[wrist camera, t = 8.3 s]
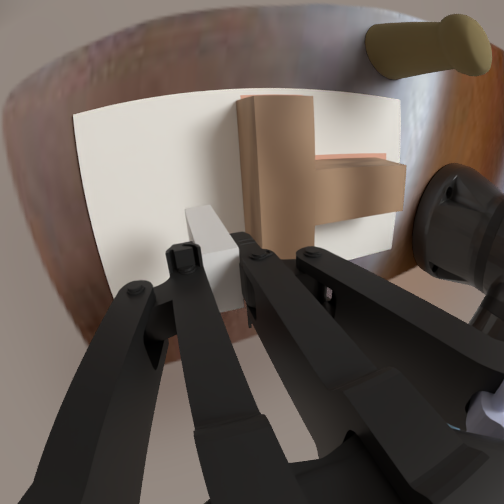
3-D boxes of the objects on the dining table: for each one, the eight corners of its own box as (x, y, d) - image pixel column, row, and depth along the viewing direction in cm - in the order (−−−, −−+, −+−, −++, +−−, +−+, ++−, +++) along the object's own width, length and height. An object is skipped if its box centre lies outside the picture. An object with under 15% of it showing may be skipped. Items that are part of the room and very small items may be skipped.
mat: (398, 99, 23) (400, 99, 23) (389, 248, 30) (391, 248, 30) (73, 115, 16) (72, 114, 16) (118, 309, 23) (118, 311, 23)
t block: (376, 105, 22) (407, 106, 19) (369, 245, 28) (395, 261, 25) (235, 100, 19) (253, 95, 16) (248, 273, 25) (264, 297, 22)
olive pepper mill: (409, 86, 23) (501, 93, 13) (365, 71, 21) (467, 66, 11) (407, 35, 20) (496, 28, 11) (363, 15, 18) (458, -7, 9)
